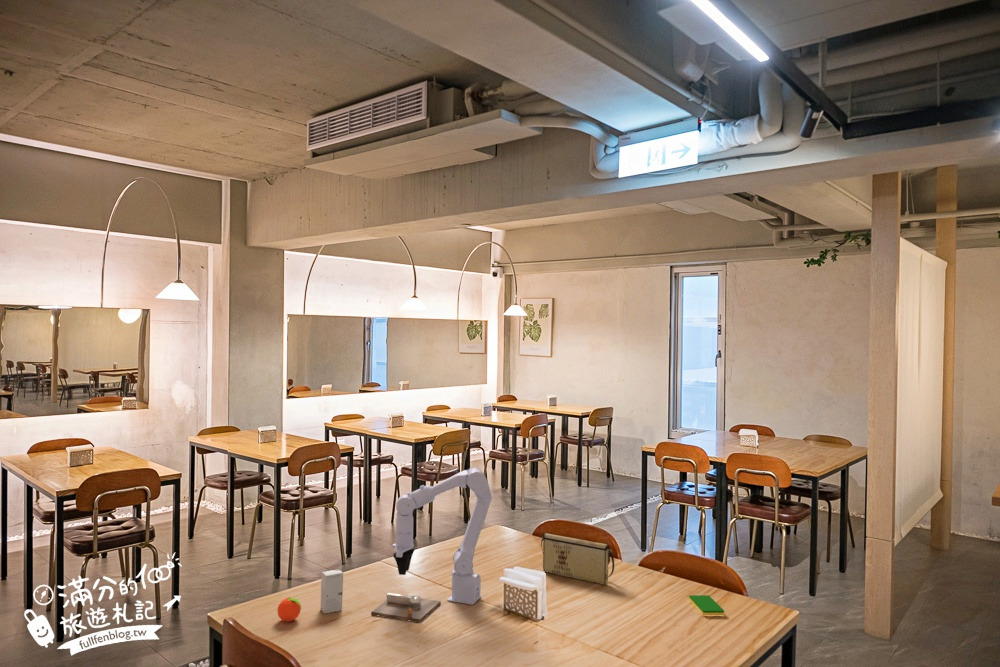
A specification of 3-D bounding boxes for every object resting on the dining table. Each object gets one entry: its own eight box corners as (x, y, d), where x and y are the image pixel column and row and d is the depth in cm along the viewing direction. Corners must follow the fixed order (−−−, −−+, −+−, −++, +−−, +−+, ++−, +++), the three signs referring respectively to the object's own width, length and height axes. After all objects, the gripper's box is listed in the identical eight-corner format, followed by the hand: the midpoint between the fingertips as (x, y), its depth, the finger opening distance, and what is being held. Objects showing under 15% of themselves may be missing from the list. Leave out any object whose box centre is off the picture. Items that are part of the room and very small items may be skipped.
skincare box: (324, 614, 212) (325, 575, 212) (319, 609, 215) (320, 571, 216) (343, 610, 215) (343, 572, 215) (338, 605, 219) (339, 568, 219)
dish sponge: (708, 602, 229) (708, 594, 229) (724, 618, 215) (724, 610, 215) (688, 602, 228) (688, 595, 228) (703, 618, 214) (703, 610, 214)
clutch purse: (617, 582, 246) (617, 541, 246) (609, 587, 240) (610, 546, 240) (545, 567, 261) (546, 528, 262) (537, 572, 255) (537, 532, 256)
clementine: (308, 618, 208) (308, 595, 208) (294, 627, 202) (294, 603, 202) (286, 614, 211) (287, 592, 211) (272, 623, 204) (272, 600, 204)
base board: (440, 604, 222) (440, 594, 222) (419, 622, 206) (419, 612, 206) (394, 597, 227) (394, 587, 227) (371, 615, 212) (371, 604, 212)
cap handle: (422, 603, 218) (422, 596, 218) (417, 607, 215) (417, 600, 215) (390, 598, 222) (390, 591, 222) (385, 602, 218) (385, 595, 218)
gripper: (398, 525, 232) (397, 564, 232) (387, 537, 218) (386, 579, 218) (418, 526, 232) (417, 565, 231) (408, 538, 217) (407, 580, 217)
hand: (403, 572), depth 225 cm, fingers open, 4 cm apart
